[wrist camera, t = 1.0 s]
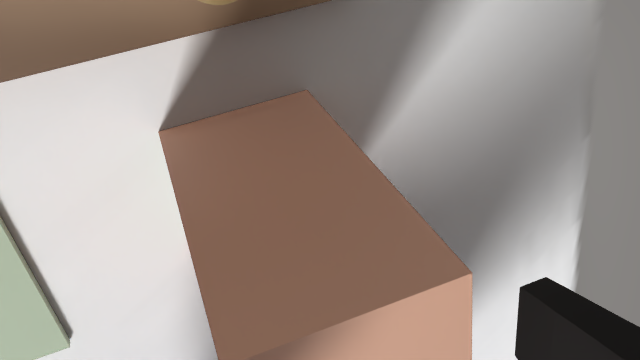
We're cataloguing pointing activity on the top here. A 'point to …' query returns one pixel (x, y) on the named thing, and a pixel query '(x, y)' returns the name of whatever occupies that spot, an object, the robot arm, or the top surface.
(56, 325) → the mat
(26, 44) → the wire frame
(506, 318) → the top surface
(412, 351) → the terracotta block
